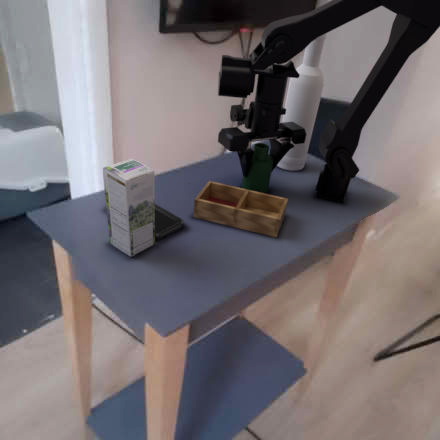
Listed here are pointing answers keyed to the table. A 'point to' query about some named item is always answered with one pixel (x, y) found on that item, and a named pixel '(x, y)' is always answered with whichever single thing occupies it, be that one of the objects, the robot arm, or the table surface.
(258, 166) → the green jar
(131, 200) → the syrup box
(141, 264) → the table surface
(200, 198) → the wooden divided tray
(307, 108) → the bottle
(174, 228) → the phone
